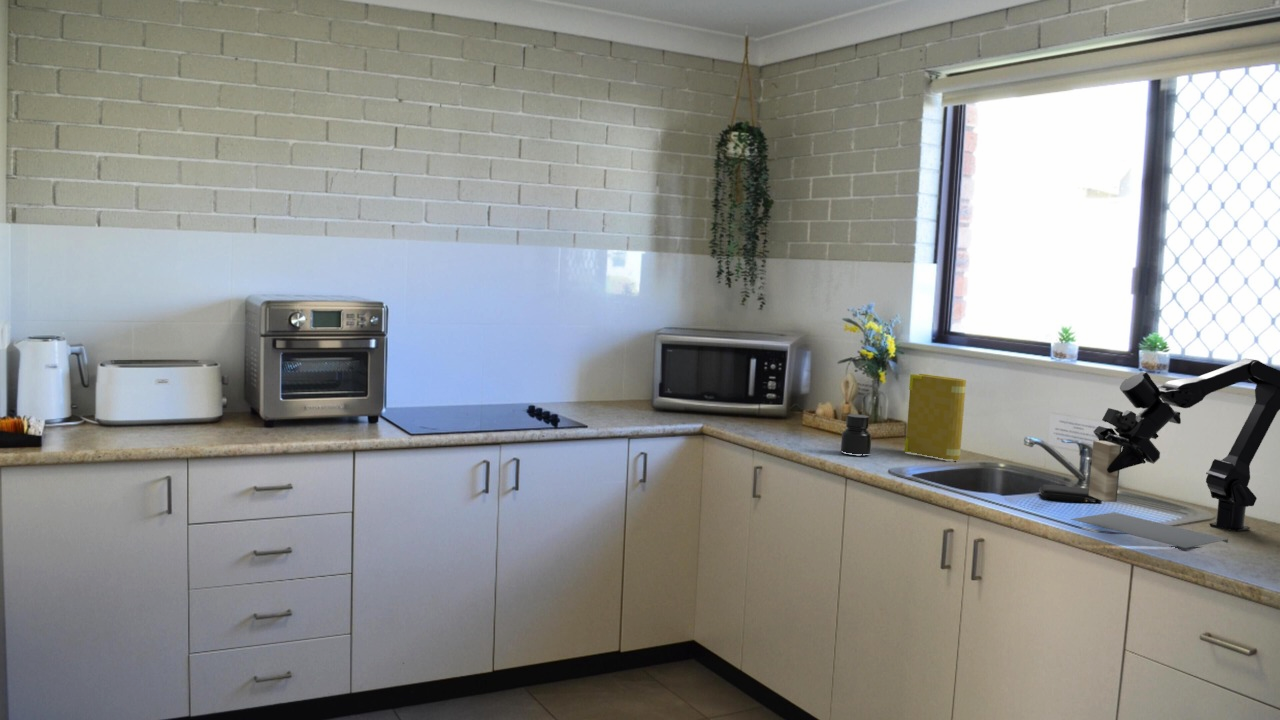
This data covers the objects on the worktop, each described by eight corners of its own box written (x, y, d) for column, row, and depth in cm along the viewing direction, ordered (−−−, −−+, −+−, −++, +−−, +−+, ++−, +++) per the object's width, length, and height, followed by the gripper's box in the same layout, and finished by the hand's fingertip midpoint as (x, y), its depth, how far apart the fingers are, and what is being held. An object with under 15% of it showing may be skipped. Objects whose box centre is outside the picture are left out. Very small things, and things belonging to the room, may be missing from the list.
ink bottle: (876, 455, 322) (879, 417, 321) (861, 458, 316) (864, 419, 315) (849, 450, 329) (852, 412, 328) (833, 453, 322) (836, 414, 321)
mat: (1114, 514, 255) (1114, 512, 255) (1227, 541, 233) (1228, 539, 232) (1070, 521, 244) (1070, 519, 244) (1184, 550, 222) (1185, 547, 222)
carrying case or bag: (1041, 501, 267) (1103, 508, 263) (1042, 490, 267) (1104, 496, 263) (1037, 493, 277) (1097, 500, 274) (1038, 482, 277) (1098, 488, 273)
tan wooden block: (1100, 495, 245) (1105, 440, 244) (1116, 501, 239) (1121, 445, 238) (1088, 495, 245) (1093, 440, 244) (1104, 501, 239) (1109, 445, 238)
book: (904, 453, 329) (910, 374, 327) (916, 451, 333) (922, 373, 331) (951, 462, 316) (958, 380, 314) (963, 460, 321) (970, 379, 319)
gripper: (1104, 392, 250) (1057, 436, 249) (1152, 402, 231) (1101, 450, 231) (1132, 425, 251) (1085, 470, 251) (1181, 439, 233) (1131, 486, 233)
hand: (1099, 468), depth 241 cm, fingers closed on tan wooden block, 6 cm apart
